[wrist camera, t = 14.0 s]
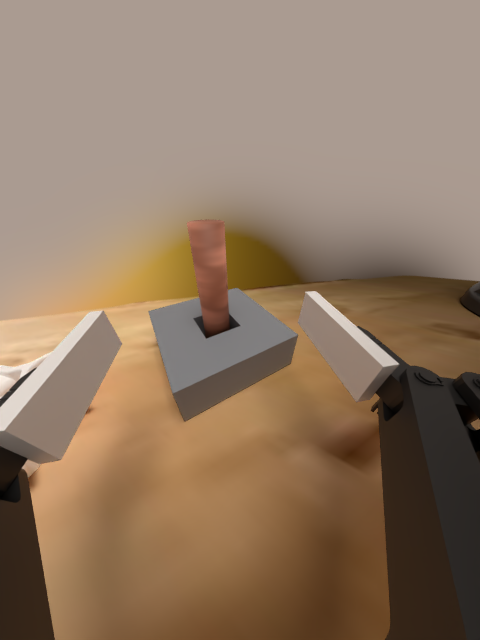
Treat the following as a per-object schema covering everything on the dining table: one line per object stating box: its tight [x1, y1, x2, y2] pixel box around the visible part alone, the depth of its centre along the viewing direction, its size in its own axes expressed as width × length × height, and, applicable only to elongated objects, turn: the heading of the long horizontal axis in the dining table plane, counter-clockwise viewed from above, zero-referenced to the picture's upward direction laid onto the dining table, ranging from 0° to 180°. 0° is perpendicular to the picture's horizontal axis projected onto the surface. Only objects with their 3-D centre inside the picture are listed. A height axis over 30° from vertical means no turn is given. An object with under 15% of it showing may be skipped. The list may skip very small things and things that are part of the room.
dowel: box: [187, 220, 230, 339], centre depth 20 cm, size 3×3×16 cm
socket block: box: [149, 288, 298, 421], centre depth 23 cm, size 14×14×5 cm
